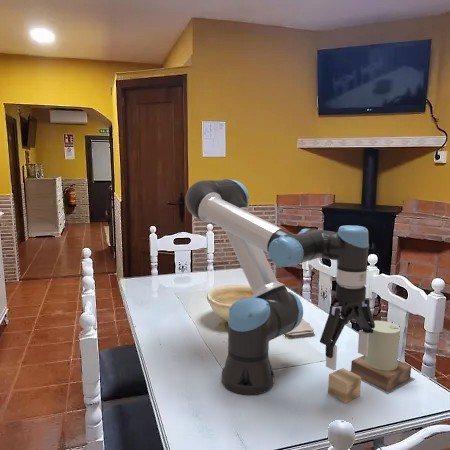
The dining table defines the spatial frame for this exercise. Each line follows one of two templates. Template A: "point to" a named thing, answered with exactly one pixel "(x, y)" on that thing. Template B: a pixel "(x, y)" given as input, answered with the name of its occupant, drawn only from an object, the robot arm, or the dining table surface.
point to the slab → (381, 374)
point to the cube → (344, 385)
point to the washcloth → (301, 331)
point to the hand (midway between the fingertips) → (347, 361)
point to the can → (383, 346)
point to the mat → (392, 388)
